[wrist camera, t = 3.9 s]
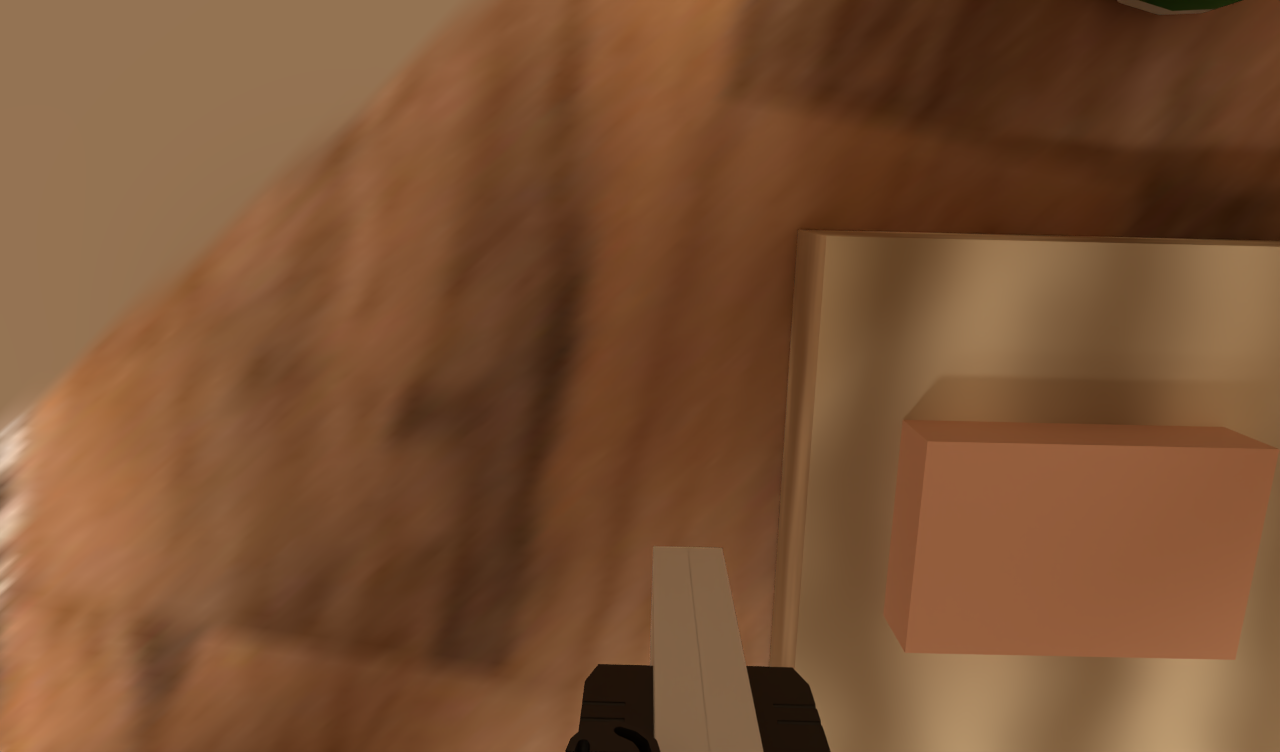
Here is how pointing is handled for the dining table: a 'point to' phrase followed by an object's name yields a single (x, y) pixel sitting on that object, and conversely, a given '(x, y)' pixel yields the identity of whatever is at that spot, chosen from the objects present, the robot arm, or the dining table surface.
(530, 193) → the dining table surface
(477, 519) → the dining table surface
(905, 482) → the terracotta tile
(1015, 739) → the birch serving board
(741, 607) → the dining table surface
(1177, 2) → the soda can
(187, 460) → the dining table surface
